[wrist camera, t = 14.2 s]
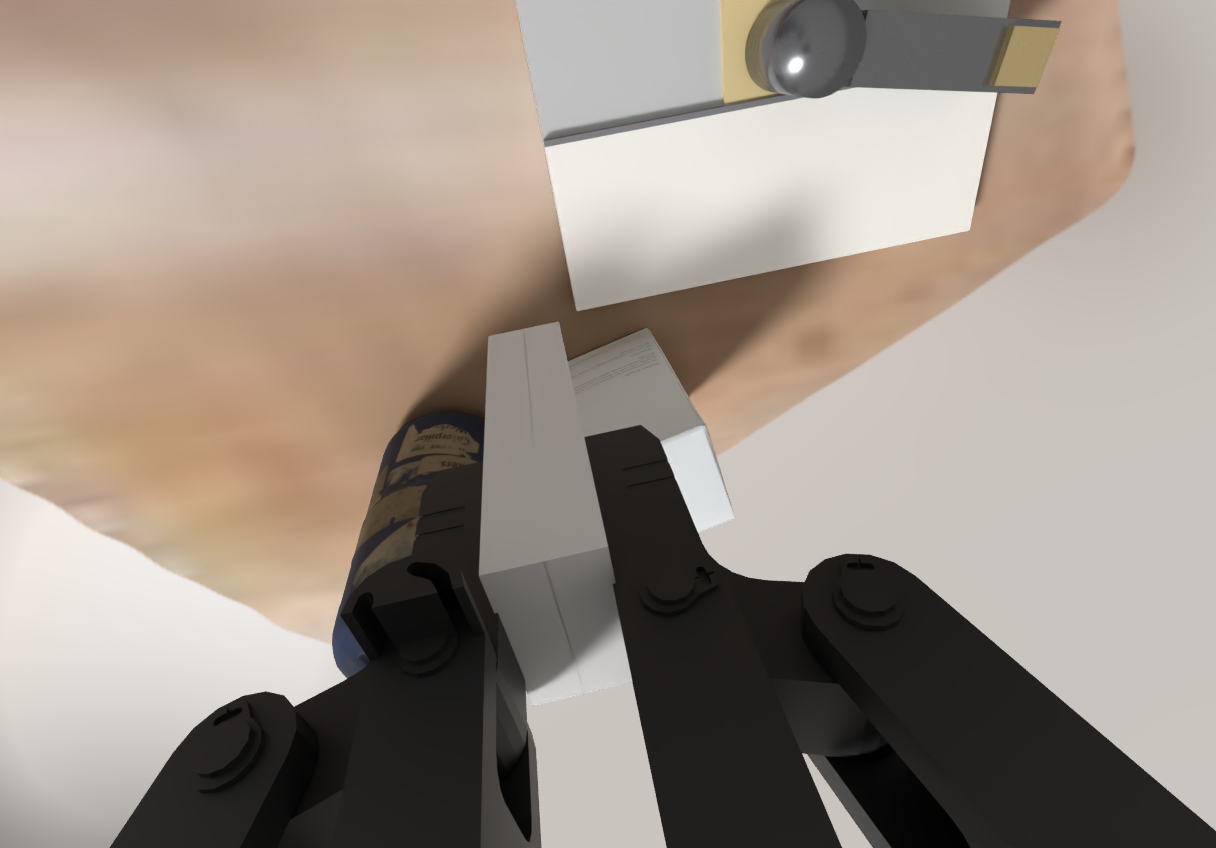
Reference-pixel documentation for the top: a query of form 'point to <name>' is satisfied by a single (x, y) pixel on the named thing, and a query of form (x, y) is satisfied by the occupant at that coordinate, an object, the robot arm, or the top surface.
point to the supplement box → (652, 416)
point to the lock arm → (893, 50)
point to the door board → (732, 148)
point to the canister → (403, 505)
